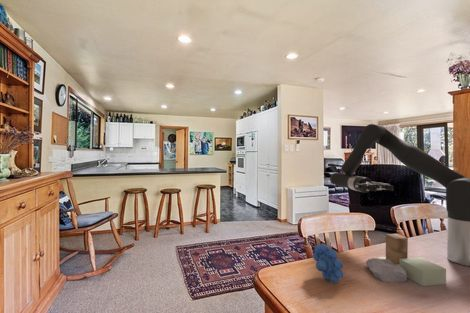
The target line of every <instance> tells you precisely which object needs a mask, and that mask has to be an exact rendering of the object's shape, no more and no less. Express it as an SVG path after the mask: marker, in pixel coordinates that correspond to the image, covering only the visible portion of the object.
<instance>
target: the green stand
mask: <svg viewBox="0 0 470 313" xmlns="http://www.w3.org/2000/svg"><path fill="white" fill-rule="evenodd" d="M400 267H402V268H403V269H404V270H405V271H406V275H407V278H408V279H409V280H411V281H413V282H415V283H416V284H418V285H420V286H421V287H428V286H438V285H444V284H445V285H446V284H447V268H446V267H443V266H441V265H439V264H436V263H434V262H432V261H430V260H429V259H428V260H427V259H425V258H424V257H421V256H418V257H408V258H404V259H400Z"/></svg>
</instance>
